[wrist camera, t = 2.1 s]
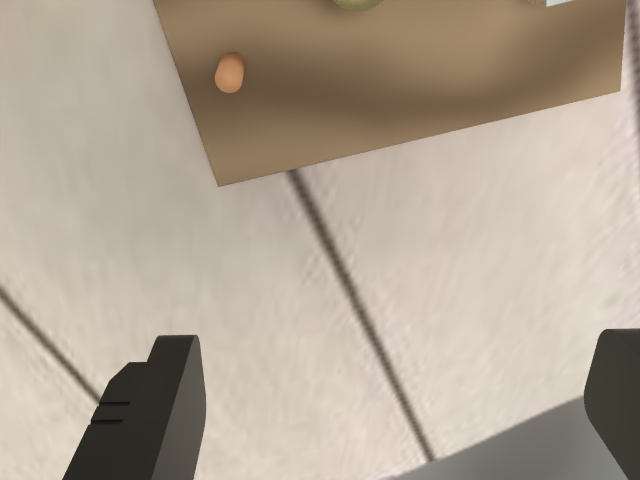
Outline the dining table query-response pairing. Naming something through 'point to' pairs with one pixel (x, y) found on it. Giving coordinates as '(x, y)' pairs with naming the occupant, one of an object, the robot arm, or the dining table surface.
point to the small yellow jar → (357, 4)
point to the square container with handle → (547, 2)
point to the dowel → (230, 72)
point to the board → (379, 71)
